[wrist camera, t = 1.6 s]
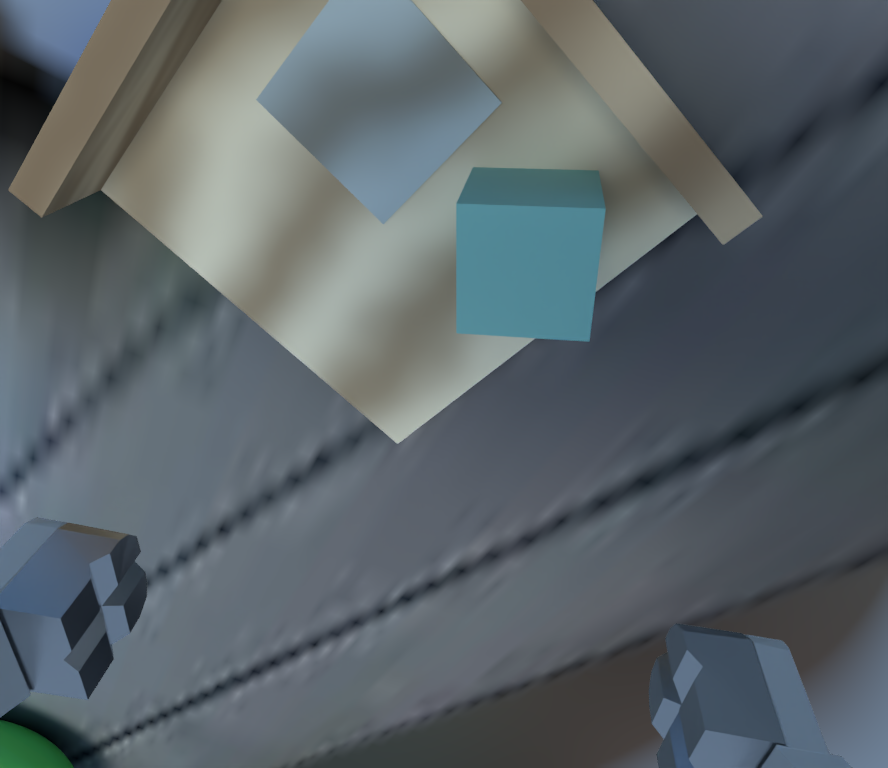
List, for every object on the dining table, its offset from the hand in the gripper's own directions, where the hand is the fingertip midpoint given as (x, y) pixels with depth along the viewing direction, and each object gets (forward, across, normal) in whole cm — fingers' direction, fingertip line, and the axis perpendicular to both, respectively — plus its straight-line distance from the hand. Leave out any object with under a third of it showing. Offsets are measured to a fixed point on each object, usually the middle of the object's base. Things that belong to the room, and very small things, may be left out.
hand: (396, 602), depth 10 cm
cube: (+20, -2, +1) cm, 21 cm away
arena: (+22, +4, -1) cm, 22 cm away
